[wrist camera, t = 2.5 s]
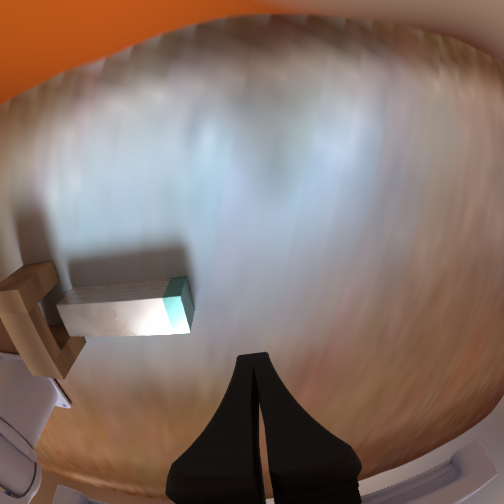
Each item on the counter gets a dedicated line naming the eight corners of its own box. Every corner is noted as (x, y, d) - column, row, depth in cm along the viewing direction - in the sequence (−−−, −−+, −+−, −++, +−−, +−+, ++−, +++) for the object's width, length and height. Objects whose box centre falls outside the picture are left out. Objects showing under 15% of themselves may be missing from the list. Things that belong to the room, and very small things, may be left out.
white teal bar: (83, 317, 20) (69, 336, 18) (72, 287, 19) (55, 305, 17) (194, 309, 20) (190, 332, 18) (187, 276, 19) (180, 296, 17)
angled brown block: (55, 341, 21) (32, 375, 16) (22, 265, 18) (-11, 292, 14) (85, 342, 21) (64, 379, 16) (52, 260, 18) (18, 289, 14)
